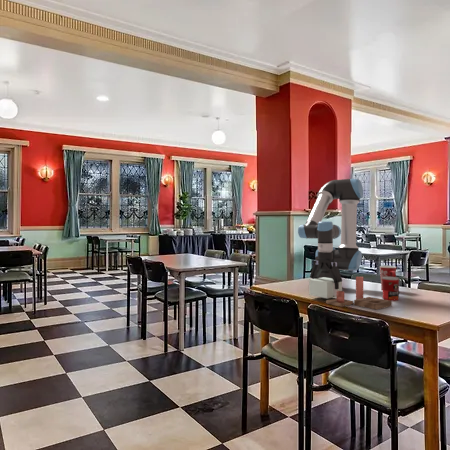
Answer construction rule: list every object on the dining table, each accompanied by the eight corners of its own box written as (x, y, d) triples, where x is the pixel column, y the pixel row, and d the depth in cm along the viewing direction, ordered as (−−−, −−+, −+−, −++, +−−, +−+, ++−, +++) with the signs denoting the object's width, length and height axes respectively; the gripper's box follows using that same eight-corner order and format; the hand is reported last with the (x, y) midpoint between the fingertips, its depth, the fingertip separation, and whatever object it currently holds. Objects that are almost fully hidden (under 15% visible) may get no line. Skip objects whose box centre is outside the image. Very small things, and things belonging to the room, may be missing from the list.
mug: (377, 289, 231) (377, 265, 231) (392, 288, 231) (392, 265, 230) (385, 293, 218) (385, 268, 218) (402, 293, 218) (402, 268, 218)
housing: (309, 294, 206) (309, 279, 206) (324, 292, 213) (323, 277, 212) (327, 298, 196) (327, 282, 196) (342, 295, 203) (341, 279, 203)
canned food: (389, 301, 197) (389, 279, 197) (379, 298, 205) (379, 276, 205) (402, 300, 199) (402, 278, 199) (391, 297, 207) (391, 276, 207)
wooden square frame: (354, 305, 189) (354, 299, 189) (369, 301, 196) (369, 296, 196) (376, 309, 180) (376, 304, 180) (391, 306, 187) (391, 300, 187)
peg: (354, 300, 199) (354, 277, 199) (358, 300, 201) (358, 276, 201) (360, 302, 196) (360, 277, 196) (364, 301, 198) (364, 277, 198)
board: (326, 303, 193) (326, 290, 193) (338, 301, 199) (338, 288, 199) (341, 306, 186) (341, 293, 186) (353, 304, 191) (353, 290, 191)
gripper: (302, 250, 212) (303, 291, 212) (339, 253, 192) (340, 298, 193) (312, 249, 216) (312, 289, 216) (349, 252, 197) (349, 296, 197)
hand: (325, 293), depth 204 cm, fingers closed on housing, 12 cm apart
